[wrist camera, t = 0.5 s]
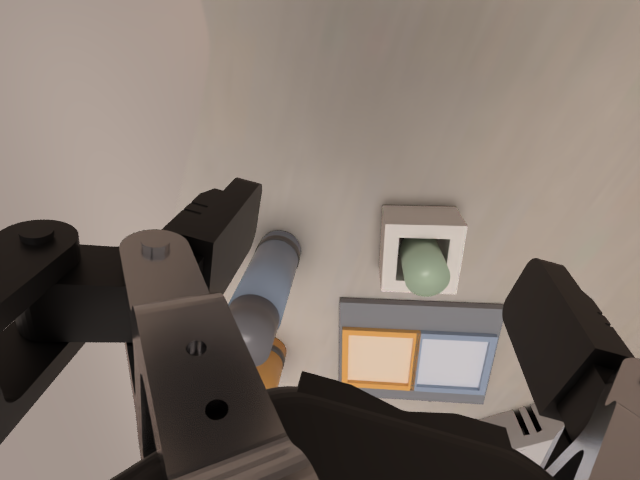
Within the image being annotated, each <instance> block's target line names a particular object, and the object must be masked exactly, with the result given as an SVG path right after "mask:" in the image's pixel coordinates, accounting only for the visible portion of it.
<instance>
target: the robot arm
mask: <svg viewBox="0 0 640 480" xmlns="http://www.w3.org/2000/svg"><path fill="white" fill-rule="evenodd" d="M261 194H262V185H261V184H259V183H256V182H252V181H248V180H244V179H241V178H235V179H234V180H233V181H232V182H231V183H230V184H229V185H228V186H227V187H226V188H225V189H224V191H222V190H218V189H212V190H209V191H206V192H203V193H201V194H199V195H198V196H197V197H196V198H195V199H194V200H193V201H192V203H190V204H189V205H188V206H186V207H185V208H184V210H182V211H181V212H180V213H179V214H178V215H177V216H176V217H175V218H174V219H172V220H171V221H170V222H169V223H168V224H167V225H166V226H165V227H164V228H163V229H162V230H157V229H153V230H143V231H139V232H136V233H133V234H131V235H129V236H127V237H126V238H125V239H123V240H122V242H121V243H120V246H119V247H109V246H94V245H80V244H79V236H78V232H77V230H76V229H75V228H74V227H73V226H71V225H69V224H67V223H64V222H61V221H55V220H31V221H26V222H20V223H17V224H14V225H11V226H9V227H7V228H5V229H3V230H1V231H0V444H1V443H2V442H3V441H4V439H5V438H6V437H7V436H8V435H9V433H10V432H11V431H12V430H13V429H14V427H15V426H16V425H17V424H18V423H19V421H20V420H21V419H22V418H23V417H24V415H25V414H26V413H27V412H28V411H29V409H30V408H31V407H32V406H33V405H34V403H35V402H36V401H37V400H38V399H39V397H40V396H41V395H42V394H43V393H44V391H45V390H46V389H47V388H48V387H49V386H50V384H51V383H52V382H53V381H54V380H55V378H56V377H57V376H58V375H59V373H60V372H61V371H62V370H63V368H64V367H65V366H66V365H67V364H68V363H69V362H70V360H71V359H72V358H73V357H74V355H75V354H76V353H77V352H78V351H79V350H80V348H81V347H82V346H83V345H84V344H85V342H125V347H126V354H127V361H128V367H129V373H130V379H131V386H132V392H133V399H134V405H135V412H136V421H137V432H138V440H139V448H140V456H141V460H140V461H139V462H137V463H136V464H134V465H132V466H131V467H129V468H128V469H126V470H125V471H123V472H121V473H120V474H118V475H117V476H115V477H113V478H112V479H110V480H640V359H638V358H635V357H634V356H633V354H632V353H631V352H630V350H629V349H628V348H627V346H626V345H625V343H624V342H623V341H622V339H621V338H620V337H619V335H618V334H617V332H616V331H615V330H614V328H613V327H610V325H611V324H610V323H609V321H608V320H607V319H606V317H605V316H603V315H602V312H601V311H600V309H599V308H598V306H597V305H596V304H595V302H594V301H593V300H592V299H591V298H590V297H589V296H588V295H586V294H585V293H584V292H583V291H582V290H581V289H580V287H579V286H578V285H577V283H576V282H575V280H574V279H573V278H572V276H571V275H570V273H569V272H568V271H567V269H566V268H565V267H564V266H563V265H560V264H556V263H552V262H548V261H545V260H541V259H537V258H534V259H532V260H530V261H529V262H528V264H527V265H526V267H525V268H524V270H523V272H522V273H521V275H520V277H519V278H518V280H517V281H516V283H515V285H514V286H513V288H512V290H511V291H510V293H509V295H508V296H507V298H506V300H505V302H504V305H503V310H502V318H503V321H504V324H505V327H506V329H507V332H508V335H509V337H510V340H511V342H512V345H513V348H514V350H515V353H516V355H517V358H518V361H519V363H520V366H521V369H522V371H523V374H524V376H525V379H526V382H527V384H528V387H529V389H530V392H531V395H532V397H533V400H534V403H535V405H536V408H537V410H538V413H539V415H540V416H543V417H547V418H550V419H554V420H558V421H561V422H563V423H564V426H563V428H562V429H561V430H560V431H559V432H558V433H557V434H556V436H555V438H554V440H553V442H552V443H551V445H550V447H549V449H548V451H547V453H546V455H545V457H544V459H543V461H542V463H541V465H540V466H539V465H538V464H537V463H535V462H534V461H533V460H531V459H530V458H528V457H527V456H525V455H524V454H522V453H520V452H519V451H517V450H515V449H513V448H512V447H511V443H510V440H509V436H508V433H507V429H506V427H502V426H498V425H495V424H491V423H488V422H484V421H480V420H477V419H473V418H470V417H466V416H462V415H459V414H453V413H428V412H407V411H403V410H400V409H398V408H396V407H394V406H392V405H390V404H388V403H386V402H384V401H382V400H380V399H378V398H377V397H375V396H373V395H371V394H369V393H367V392H365V391H363V390H361V389H359V388H357V387H355V386H353V385H351V384H347V383H343V382H340V381H336V380H333V379H329V378H325V377H322V376H318V375H315V374H311V373H307V372H304V371H302V373H301V377H300V380H299V384H298V387H292V386H286V387H275V388H269V389H266V388H265V385H264V383H263V381H262V379H261V377H260V374H259V372H258V370H257V368H256V366H255V363H254V361H253V359H252V357H251V355H250V352H249V350H248V348H247V346H246V343H245V341H244V339H243V337H242V335H241V332H240V330H239V328H238V326H237V324H236V321H235V319H234V317H233V315H232V313H231V310H230V308H229V306H228V304H227V302H226V299H225V297H224V296H223V294H224V292H225V290H226V289H227V287H228V285H229V284H230V282H231V280H232V279H233V277H234V275H235V274H236V272H237V270H238V269H239V267H240V265H241V264H242V262H243V260H244V259H245V257H246V255H247V254H248V252H249V250H250V248H251V246H252V243H253V240H254V237H255V233H256V227H257V220H258V214H259V207H260V201H261ZM14 320H15V321H14ZM13 321H14V322H13ZM8 325H9V326H8ZM7 326H8V327H7ZM6 327H7V328H6ZM5 328H6V329H5Z"/></svg>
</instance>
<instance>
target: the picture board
mask: <svg viewBox="0 0 640 480" xmlns="http://www.w3.org/2000/svg"><path fill="white" fill-rule="evenodd" d="M502 310H503V304H483V303H458V302H434V301H409V300H385V299H361V298H340V326H339V381H340V382H343V383H347V384H351V385H353V386H355V387H357V388H359V389H361V390H363V391H365V392H367V393H369V394H371V395H373V396H375V397H377V398H390V399H406V400H422V401H438V402H453V403H469V404H483V403H484V399H485V395H486V390H487V386H488V382H489V378H490V373H491V369H492V365H493V361H494V357H495V352H496V348H497V344H498V340H499V335H500V331H501V327H502V323H503V318H502Z"/></svg>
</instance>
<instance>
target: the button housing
mask: <svg viewBox="0 0 640 480" xmlns="http://www.w3.org/2000/svg"><path fill="white" fill-rule="evenodd" d="M467 227H468V226H467V224H466V223H465V221H464V219H463V218H462V216H461V214H460V213H459V211H458V209H457V208H456V207H448V206H397V205H383V208H382V225H381V241H380V258H379V274H380V285H381V292H407V293H412V292H411V291H410V290H409V289H408V288H407V286H406V284H405V280H404V275H403V269H402V264H401V259H400V257H398V246H399V238H425V239H438V244H439V247H440V249H441V252H442V254H443V256H444V259H445V261H446V264H447V266H448V269H449V271H450V282H449V284H448V286H447V287H446V288H445V289H444V290H443V291H442V292H441V293H439V294H457V288H458V282H459V276H460V270H461V264H462V258H463V252H464V246H465V240H466V233H467Z"/></svg>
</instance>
